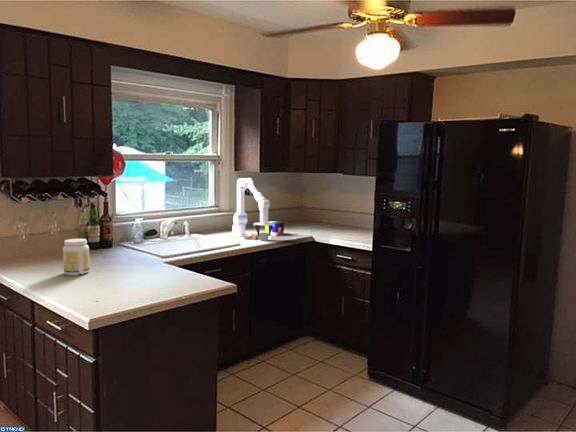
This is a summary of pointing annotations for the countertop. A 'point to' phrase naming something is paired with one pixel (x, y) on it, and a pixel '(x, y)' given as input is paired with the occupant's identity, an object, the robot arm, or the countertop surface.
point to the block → (263, 236)
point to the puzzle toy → (275, 228)
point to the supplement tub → (76, 257)
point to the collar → (251, 237)
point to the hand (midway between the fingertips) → (264, 236)
